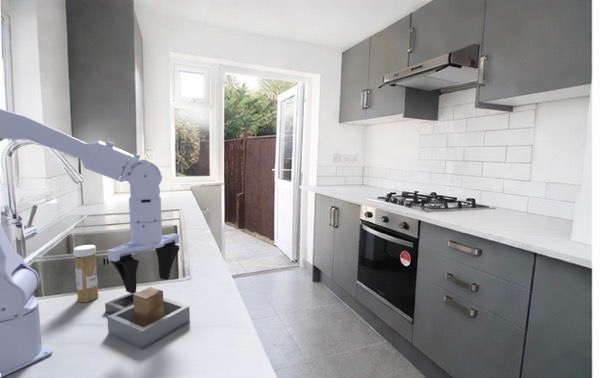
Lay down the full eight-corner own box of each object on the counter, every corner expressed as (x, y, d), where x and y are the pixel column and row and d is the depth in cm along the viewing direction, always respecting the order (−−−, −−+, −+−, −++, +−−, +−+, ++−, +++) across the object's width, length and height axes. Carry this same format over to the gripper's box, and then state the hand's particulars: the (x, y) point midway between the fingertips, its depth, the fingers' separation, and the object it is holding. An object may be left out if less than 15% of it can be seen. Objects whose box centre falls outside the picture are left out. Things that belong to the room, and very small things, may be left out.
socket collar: (124, 319, 67) (124, 310, 67) (105, 311, 71) (105, 303, 70) (153, 305, 74) (153, 297, 73) (134, 298, 77) (134, 291, 77)
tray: (143, 349, 57) (142, 331, 56) (108, 333, 62) (107, 316, 61) (189, 322, 66) (189, 306, 66) (156, 309, 71) (155, 295, 71)
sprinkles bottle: (98, 300, 76) (95, 247, 75) (76, 304, 74) (72, 250, 72) (98, 293, 80) (95, 243, 79) (77, 297, 77) (73, 245, 76)
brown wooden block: (146, 331, 61) (145, 298, 61) (134, 326, 63) (133, 294, 63) (164, 322, 65) (162, 290, 64) (152, 317, 67) (150, 287, 66)
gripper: (123, 229, 54) (126, 303, 55) (188, 216, 66) (190, 276, 68) (99, 225, 57) (103, 295, 58) (166, 213, 70) (168, 270, 71)
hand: (148, 284), depth 63 cm, fingers open, 7 cm apart
